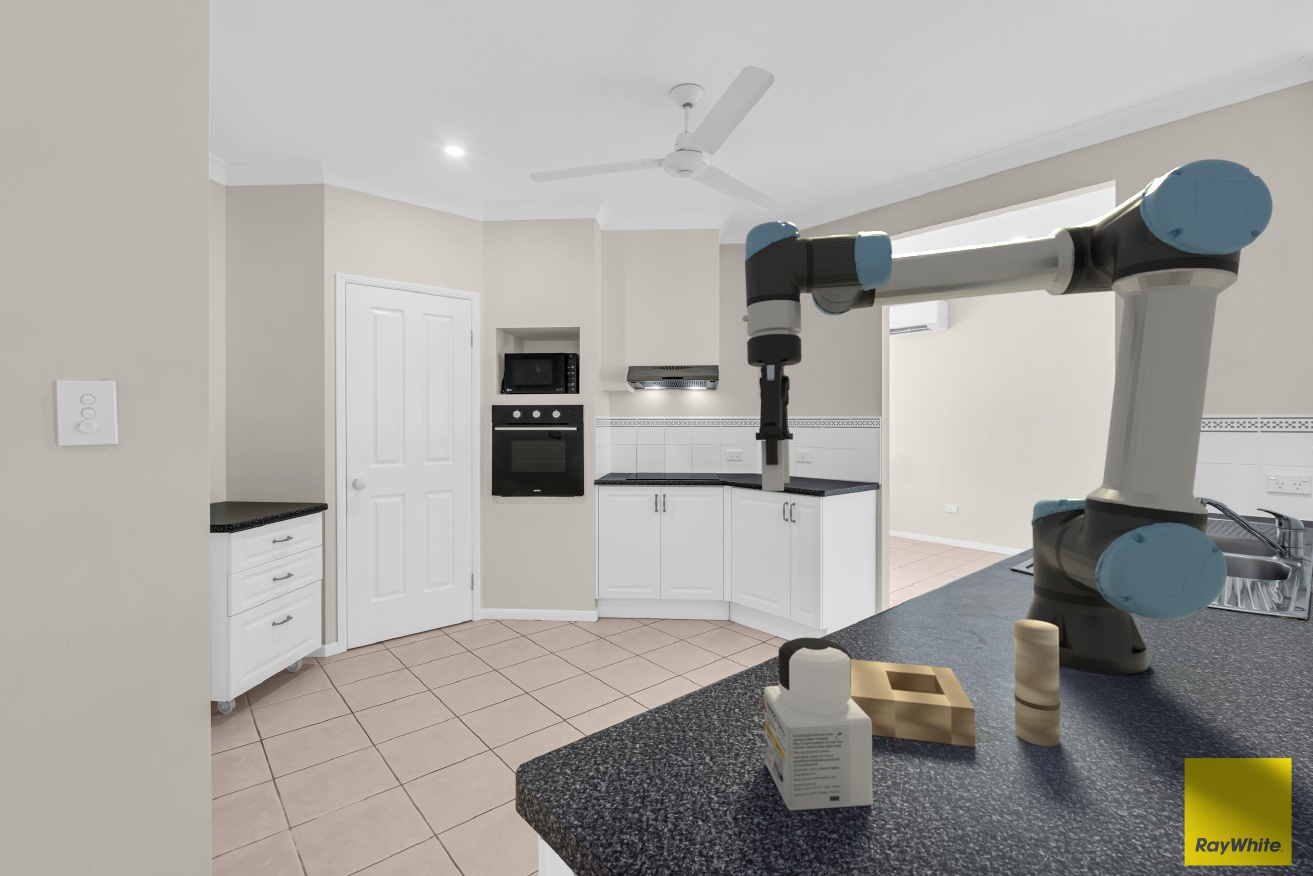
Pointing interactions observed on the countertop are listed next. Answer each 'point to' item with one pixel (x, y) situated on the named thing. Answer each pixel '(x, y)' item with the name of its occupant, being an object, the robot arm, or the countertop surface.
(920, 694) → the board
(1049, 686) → the peg
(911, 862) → the countertop surface
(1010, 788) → the countertop surface
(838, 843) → the countertop surface
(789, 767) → the container
